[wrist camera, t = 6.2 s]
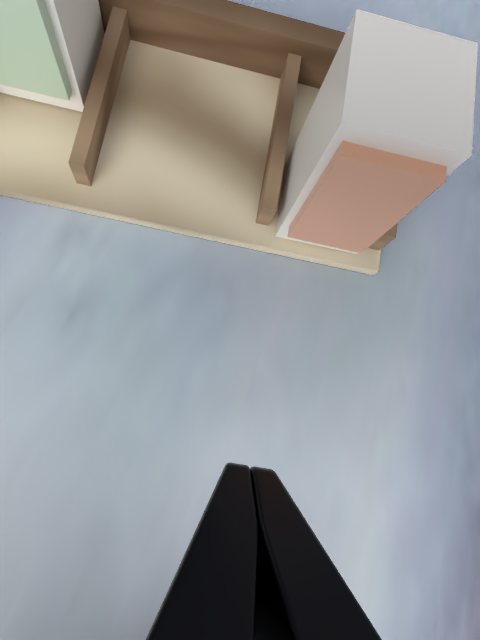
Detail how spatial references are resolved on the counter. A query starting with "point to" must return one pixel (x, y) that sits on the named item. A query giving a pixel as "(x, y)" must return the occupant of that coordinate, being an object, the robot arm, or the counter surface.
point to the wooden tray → (182, 126)
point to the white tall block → (379, 133)
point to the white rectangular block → (49, 49)
